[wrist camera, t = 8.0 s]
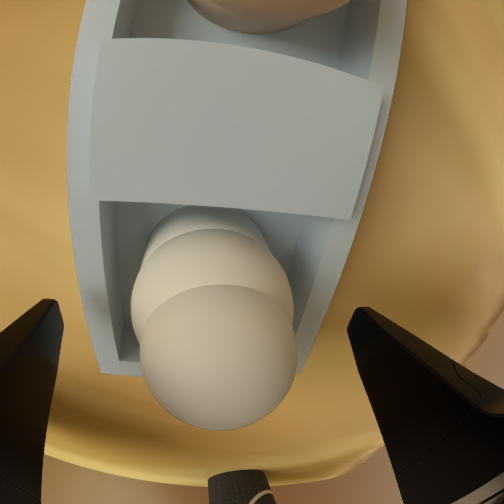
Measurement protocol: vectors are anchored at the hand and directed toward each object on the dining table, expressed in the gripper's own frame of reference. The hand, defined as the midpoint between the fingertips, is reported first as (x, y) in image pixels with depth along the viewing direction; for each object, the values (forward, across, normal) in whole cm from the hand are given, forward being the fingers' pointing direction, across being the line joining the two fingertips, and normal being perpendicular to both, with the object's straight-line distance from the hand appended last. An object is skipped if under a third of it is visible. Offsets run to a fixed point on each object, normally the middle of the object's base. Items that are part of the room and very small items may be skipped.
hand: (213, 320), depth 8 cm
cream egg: (+3, 0, 0) cm, 3 cm away
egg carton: (+4, 0, -5) cm, 6 cm away
